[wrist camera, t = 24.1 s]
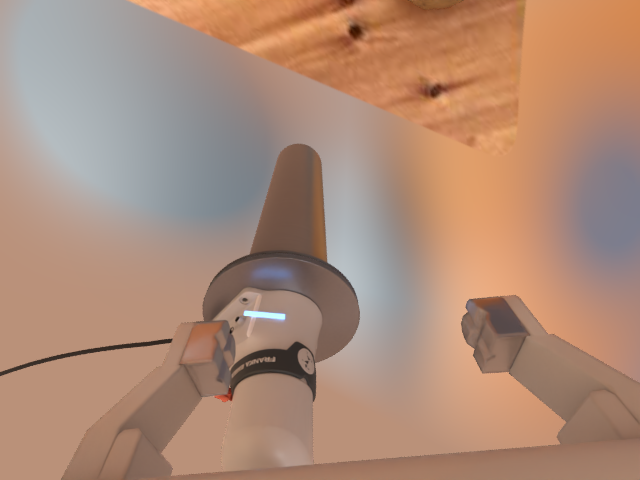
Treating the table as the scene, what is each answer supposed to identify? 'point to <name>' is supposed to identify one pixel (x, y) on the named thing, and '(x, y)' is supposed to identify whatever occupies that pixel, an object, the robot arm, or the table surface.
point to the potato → (435, 3)
